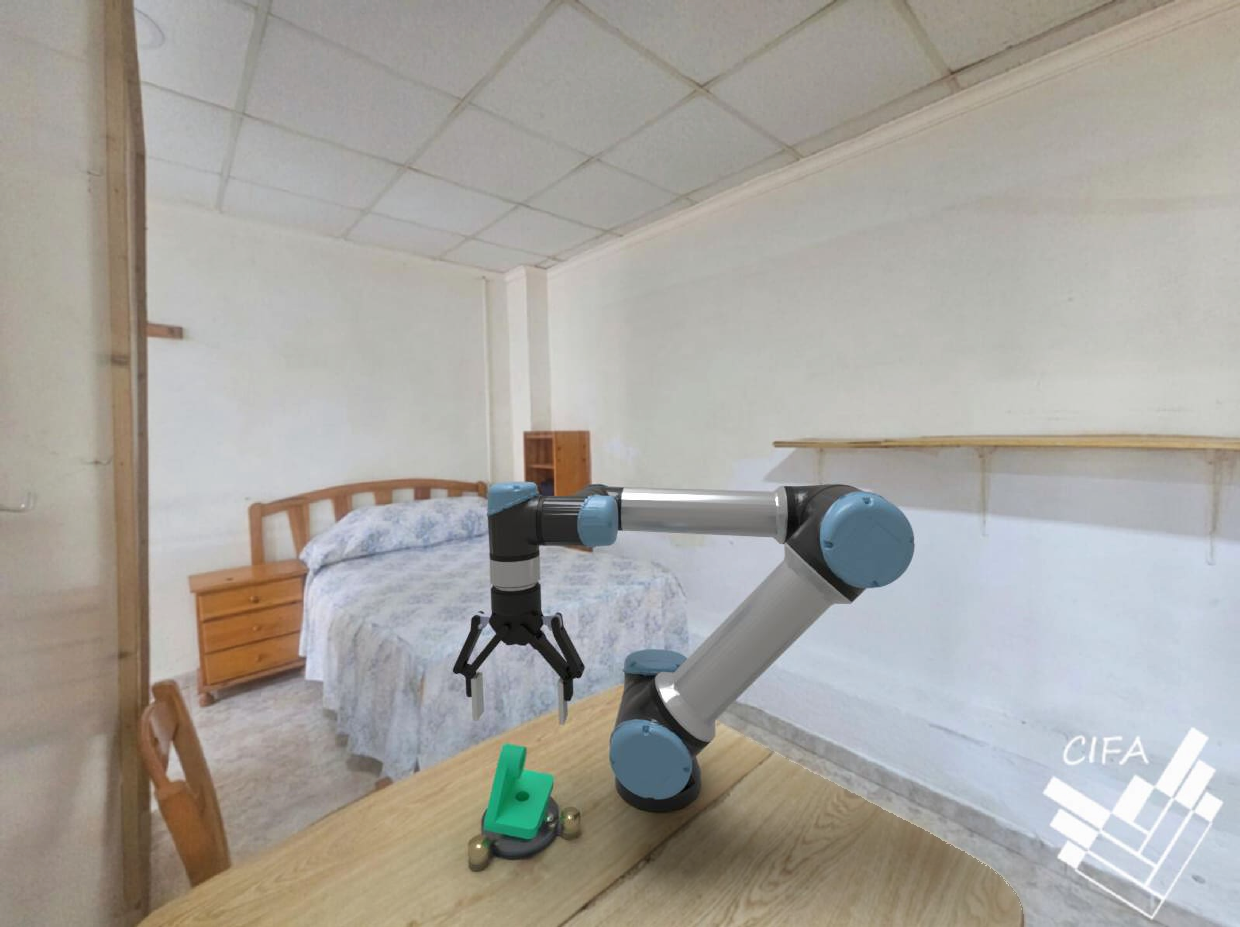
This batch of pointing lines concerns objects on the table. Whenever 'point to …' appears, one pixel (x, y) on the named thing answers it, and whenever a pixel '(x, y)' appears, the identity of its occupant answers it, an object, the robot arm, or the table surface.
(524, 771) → the camera mount
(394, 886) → the table surface
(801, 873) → the table surface
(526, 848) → the plate
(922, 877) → the table surface
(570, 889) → the table surface
